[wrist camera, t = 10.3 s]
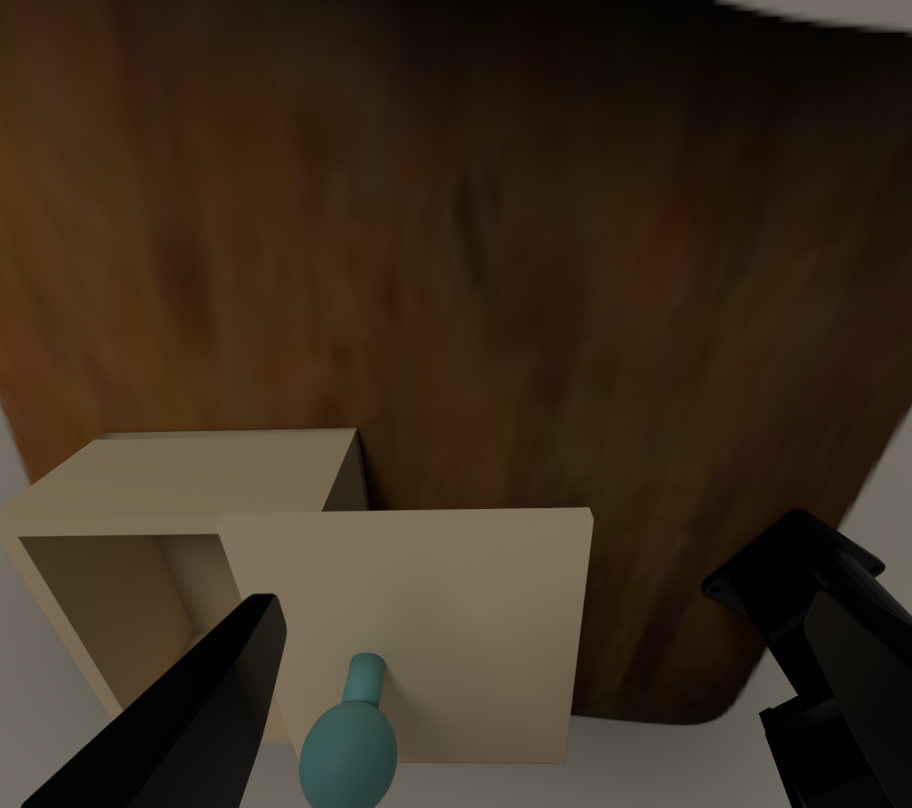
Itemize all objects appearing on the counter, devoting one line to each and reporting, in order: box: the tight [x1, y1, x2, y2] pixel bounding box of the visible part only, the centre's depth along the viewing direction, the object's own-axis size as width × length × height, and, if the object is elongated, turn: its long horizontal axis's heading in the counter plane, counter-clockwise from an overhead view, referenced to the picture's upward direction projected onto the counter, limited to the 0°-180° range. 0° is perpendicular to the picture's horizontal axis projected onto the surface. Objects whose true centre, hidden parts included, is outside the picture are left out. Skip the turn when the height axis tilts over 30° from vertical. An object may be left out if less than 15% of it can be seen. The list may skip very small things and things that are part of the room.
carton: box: [0, 428, 370, 743], centre depth 22 cm, size 12×14×6 cm
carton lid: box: [216, 508, 594, 808], centre depth 17 cm, size 12×14×6 cm
